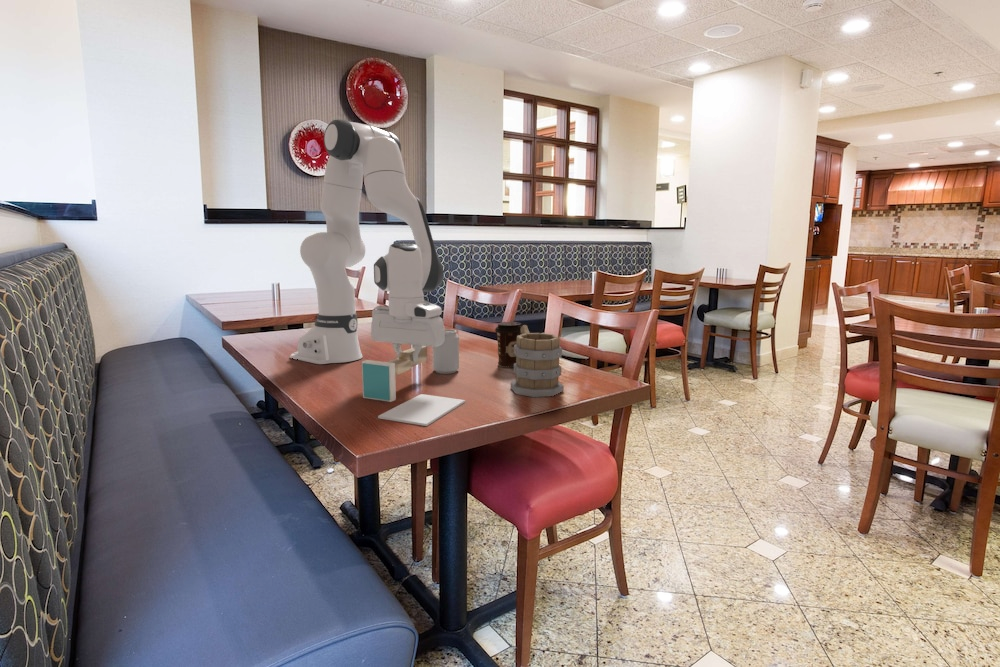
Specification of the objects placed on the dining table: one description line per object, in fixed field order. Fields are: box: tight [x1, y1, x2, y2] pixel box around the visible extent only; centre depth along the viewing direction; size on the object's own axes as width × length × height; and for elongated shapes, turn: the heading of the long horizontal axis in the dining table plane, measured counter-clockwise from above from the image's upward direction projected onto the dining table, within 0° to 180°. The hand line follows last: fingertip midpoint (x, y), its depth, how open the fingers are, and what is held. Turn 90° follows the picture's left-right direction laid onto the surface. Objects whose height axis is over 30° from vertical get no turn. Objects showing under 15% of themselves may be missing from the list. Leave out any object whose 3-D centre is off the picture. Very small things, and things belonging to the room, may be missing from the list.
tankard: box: [510, 324, 565, 398], centre depth 143 cm, size 20×13×15 cm, turn 12°
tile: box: [361, 359, 397, 403], centre depth 132 cm, size 8×2×9 cm, turn 67°
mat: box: [377, 393, 466, 427], centre depth 124 cm, size 12×18×1 cm, turn 157°
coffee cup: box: [494, 321, 523, 368], centre depth 165 cm, size 9×8×13 cm
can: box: [432, 328, 460, 375], centre depth 158 cm, size 8×8×12 cm
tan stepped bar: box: [387, 346, 428, 375], centre depth 143 cm, size 4×16×4 cm, turn 158°
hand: (407, 360), depth 143 cm, fingers closed on tan stepped bar, 2 cm apart
